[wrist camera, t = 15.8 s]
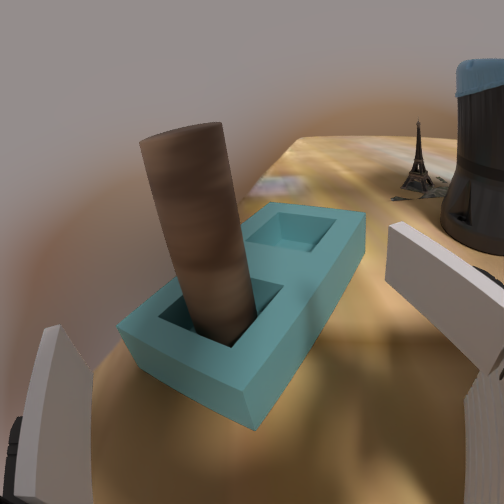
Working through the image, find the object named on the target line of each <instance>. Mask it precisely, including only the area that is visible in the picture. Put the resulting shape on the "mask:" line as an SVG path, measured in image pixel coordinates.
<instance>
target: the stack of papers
mask: <svg viewBox="0 0 504 504" xmlns="http://www.w3.org/2000/svg"><path fill="white" fill-rule="evenodd" d="M503 368H504V358H503V360H502V362H501V364H500V365H499V367H498V368H497V369H496V370H494V371H493V372H492V373H491V374H490V375H489V376H488V377H486V376H485V375H484V374H483V373H482V372H481V371H479V373H478V375H477V378H476V379H475V381H474V382H473V384H472V385H473V387H471V388H470V390H469V391H468V394H467V395H466V396H465V398H464V410H465V430H466V475H465V494H464V504H504V377H503V379H502V380H499V376H500V374H501V372H502V370H503Z"/></svg>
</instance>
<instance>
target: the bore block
mask: <svg viewBox="0 0 504 504" xmlns="http://www.w3.org/2000/svg"><path fill="white" fill-rule="evenodd" d="M241 230H242V236H243V241H244V246H245V252H246V257H247V262H248V268H249V273H250V278H251V283H252V289H253V294H254V299H255V304H256V310H257V315H258V318H257V319H256V320H255V321H254V322H253V323H252V325H251V326H250V327H249V328H248V329H247V331H246V332H245V333H244V334H243V335H242V336H241V338H240V339H239V340H238V341H237V342H236V343H235V344H234V346H233V347H232V348H230V347H227V346H225V345H222V344H220V343H217V342H215V341H213V340H210V339H208V338H205V337H203V336H200V335H198V334H197V333H196V330H195V328H194V325H193V322H192V319H191V316H190V314H189V311H188V308H187V305H186V302H185V299H184V296H183V293H182V290H181V287H180V284H179V281H178V278H177V276H176V277H174V278H173V279H172V280H171V281H170V282H168V283H167V284H166V285H165V286H163V287H162V288H161V289H160V290H159V291H157V292H156V293H155V294H154V295H152V296H151V297H150V298H149V299H147V300H146V301H145V302H144V303H143V304H142V305H140V306H139V307H138V308H137V309H136V310H134V311H133V312H132V313H131V314H129V315H128V316H127V317H126V318H125V319H123V320H122V321H121V322H120V323H119V324H117V325H116V327H117V329H118V331H119V333H120V335H121V337H122V339H123V340H124V342H125V344H126V346H127V348H128V349H129V351H130V353H131V355H132V356H133V358H134V360H135V362H136V363H137V365H138V367H139V368H141V369H142V370H144V371H145V372H147V373H148V374H150V375H152V376H153V377H155V378H156V379H158V380H160V381H161V382H163V383H165V384H166V385H168V386H170V387H171V388H173V389H175V390H177V391H178V392H180V393H182V394H184V395H185V396H187V397H189V398H191V399H192V400H194V401H196V402H198V403H200V404H202V405H203V406H205V407H207V408H209V409H211V410H213V411H215V412H217V413H219V414H221V415H223V416H225V417H227V418H229V419H231V420H233V421H235V422H237V423H239V424H241V425H243V426H245V427H247V428H249V429H252V430H254V431H256V430H257V428H258V427H259V426H260V424H261V423H262V421H263V420H264V419H265V417H266V416H267V414H268V413H269V411H270V410H271V409H272V407H273V406H274V404H275V403H276V401H277V400H278V398H279V397H280V395H281V394H282V392H283V391H284V389H285V388H286V386H287V385H288V383H289V382H290V380H291V379H292V377H293V376H294V374H295V373H296V371H297V370H298V368H299V367H300V365H301V363H302V362H303V360H304V359H305V357H306V355H307V354H308V352H309V351H310V349H311V347H312V346H313V344H314V342H315V341H316V339H317V338H318V336H319V334H320V333H321V331H322V329H323V327H324V326H325V324H326V322H327V321H328V319H329V317H330V316H331V314H332V312H333V310H334V309H335V307H336V305H337V303H338V302H339V300H340V298H341V296H342V294H343V293H344V291H345V289H346V287H347V285H348V284H349V282H350V280H351V278H352V276H353V274H354V272H355V271H356V269H357V267H358V265H359V263H360V261H361V259H362V257H363V255H364V253H365V233H366V213H364V212H356V211H348V210H340V209H332V208H323V207H314V206H305V205H296V204H286V203H276V202H269V203H268V204H267V205H266V206H264V207H263V208H262V209H260V210H259V211H258V212H257V213H255V214H254V215H253V216H251V217H250V218H249V219H248V220H246V221H245V222H244V223H242V224H241Z"/></svg>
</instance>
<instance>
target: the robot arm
mask: <svg viewBox="0 0 504 504" xmlns="http://www.w3.org/2000/svg"><path fill="white" fill-rule="evenodd" d="M456 81H457V82H456V84H457V92H456V94H455V97H457V99H458V141H457V165H456V170H455V173H454V175H453V178H452V180H451V183H450V185H449V188H448V190H447V193H446V195H445V197H444V200H443V202H442V207H441V216H440V222H441V225H442V227H443V228H444V229H445V231H446V232H447V233H448V234H449V235H451V236H452V237H453V238H455V239H456V240H458V241H459V242H461V243H463V244H465V245H467V246H469V247H472V248H474V249H477V250H480V251H483V252H486V253H491V254H496V255H504V59H472V60H466V61H463V62H461V63H460V64H459V65H458V67H457V71H456ZM385 281H386V282H387V283H388V284H389V285H390V286H392V287H393V288H394V289H395V290H396V291H397V292H398V293H399V294H401V295H402V296H403V297H404V298H405V299H406V300H407V301H408V302H409V303H410V304H412V305H413V306H414V307H415V308H416V309H417V310H418V311H419V312H420V313H421V314H422V315H424V316H425V317H426V318H427V319H428V320H429V321H430V322H431V323H432V324H433V325H434V326H435V327H436V328H437V329H438V330H440V331H441V332H442V333H443V334H444V335H445V336H446V337H447V338H448V339H449V340H450V341H451V342H452V343H453V344H454V345H455V346H456V347H457V348H458V349H459V350H460V351H461V352H462V353H463V354H464V355H465V356H466V357H467V358H468V359H469V360H470V361H471V362H472V363H473V364H474V365H475V366H476V367H477V368H478V369H479V370H480V371H481V372H482V373H483V374H484V375H485V376H486V377H488V376H489V375H490V374H491V373H492V372H493V371H494V370H496V369H497V368H498V367H499V365H500V364H501V362H502V360H503V358H504V285H503V283H502V282H500V281H499V280H498V279H495V277H493V276H492V275H491V274H489V273H488V272H486V271H485V270H482V269H480V268H477V267H475V266H471V265H469V264H468V263H467V262H465V261H464V260H462V259H461V258H459V257H458V256H456V255H455V254H453V253H452V252H450V251H449V250H447V249H446V248H444V247H443V246H441V245H440V244H438V243H437V242H435V241H433V240H432V239H430V238H429V237H427V236H426V235H424V234H422V233H421V232H419V231H418V230H416V229H414V228H413V227H411V226H409V225H408V224H406V223H404V222H403V221H401V222H398V223H395V224H392V225H389V230H388V247H387V261H386V273H385ZM503 377H504V368H503V370H502V372H501V374H500V376H499V380H502V379H503ZM92 387H93V372H92V371H91V370H90V368H89V367H88V366H87V364H86V363H85V361H84V360H83V358H82V357H81V355H80V354H79V352H78V351H77V349H76V348H75V346H74V345H73V343H72V342H71V340H70V338H69V337H68V335H67V334H66V332H65V330H64V329H63V327H62V326H61V324H59V325H56V326H52V327H49V328H45V329H44V332H43V335H42V339H41V342H40V345H39V349H38V353H37V356H36V360H35V364H34V368H33V372H32V376H31V380H30V384H29V389H28V393H27V398H26V403H25V408H24V414H23V416H21V417H17V418H16V420H15V422H14V424H13V426H12V428H11V431H10V437H9V446H8V450H7V455H8V457H6V466H5V475H4V486H3V496H0V504H93V493H92V475H91V407H92Z"/></svg>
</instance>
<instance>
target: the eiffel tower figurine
mask: <svg viewBox="0 0 504 504" xmlns="http://www.w3.org/2000/svg"><path fill="white" fill-rule="evenodd" d="M423 160H424V159H423V157H422V148H421V135H420V122H419V121H418V122H417V143H416V155H415V159H414V164H413V167H412V170H411V171H410V172H409V176H408V178H407V179H406V181H405V182H404V184H403V186H402V187H401V188H402V189H406V190H411V191H416V192H420V193H425V194H424V195H423V196H422V197H420V198H418V199H421V198H432V197H445V195H446V193H447V190H448V188H449V187H438V188H433V187H434V186H435V185H434V184H433V182H432V181H431V179H430V177H429V176H428V171H426V169H425V166H424V162H423ZM418 164H419V169H418ZM436 178H437V179H439V180H440V181H443V183H447V182H446V181H445V180H443V179H442V178H440V177H436ZM414 179H416V180H418V181H419V182H417V181H414ZM426 180H427V182H428V184H427V183H426ZM432 188H433V189H432ZM391 200H392V201H396V200H411V199H406V198H401V197H397V196H396V197H394V198H391Z"/></svg>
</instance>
